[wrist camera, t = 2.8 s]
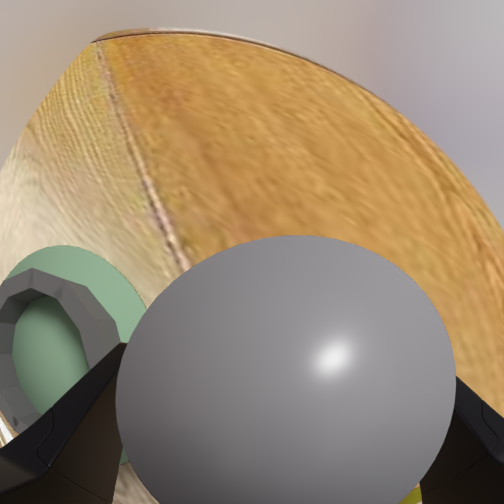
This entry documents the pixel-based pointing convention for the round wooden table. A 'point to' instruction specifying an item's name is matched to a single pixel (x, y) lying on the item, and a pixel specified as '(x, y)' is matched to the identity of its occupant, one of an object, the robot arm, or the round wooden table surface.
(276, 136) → the round wooden table surface
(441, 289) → the round wooden table surface
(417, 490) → the dumbbell
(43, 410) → the green round disc
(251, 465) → the white gray-capped cylinder
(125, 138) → the round wooden table surface
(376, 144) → the round wooden table surface
